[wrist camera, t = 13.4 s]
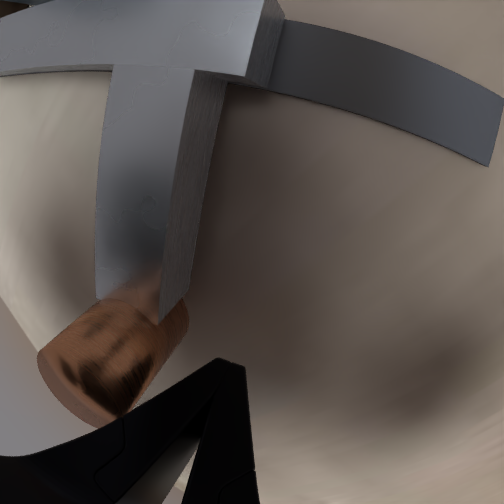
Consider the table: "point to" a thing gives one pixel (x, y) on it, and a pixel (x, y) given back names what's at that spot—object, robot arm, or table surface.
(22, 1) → the slate blue cuboid
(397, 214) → the table surface
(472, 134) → the mount
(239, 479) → the robot arm
